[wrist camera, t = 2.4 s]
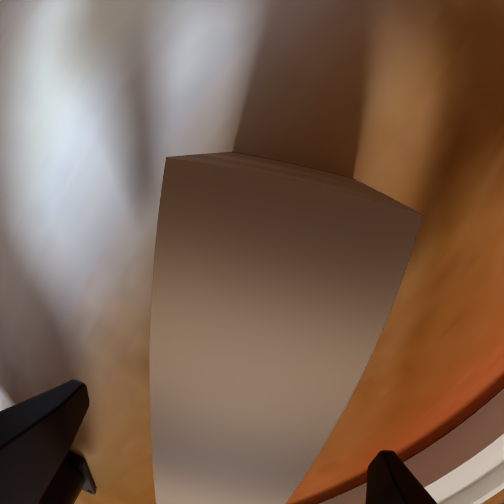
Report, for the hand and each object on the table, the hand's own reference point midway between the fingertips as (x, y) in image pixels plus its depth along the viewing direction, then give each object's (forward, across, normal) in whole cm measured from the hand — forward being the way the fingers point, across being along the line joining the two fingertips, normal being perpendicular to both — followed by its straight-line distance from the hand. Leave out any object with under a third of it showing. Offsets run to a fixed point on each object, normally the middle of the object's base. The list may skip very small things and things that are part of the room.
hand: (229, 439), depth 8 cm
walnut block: (+5, 0, 0) cm, 5 cm away
